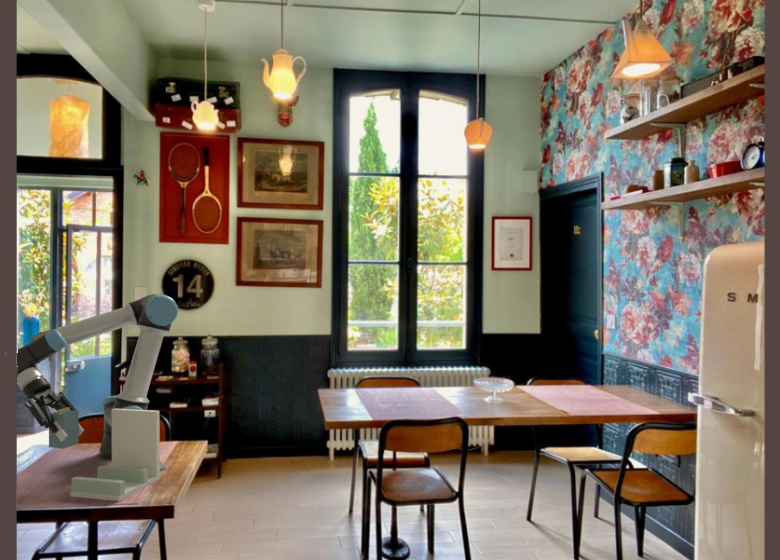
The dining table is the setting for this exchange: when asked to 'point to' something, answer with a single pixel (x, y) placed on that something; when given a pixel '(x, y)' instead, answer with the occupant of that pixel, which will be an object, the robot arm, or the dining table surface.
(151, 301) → the robot arm
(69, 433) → the teal block with bar
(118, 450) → the pale green rail stand
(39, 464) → the dining table surface
